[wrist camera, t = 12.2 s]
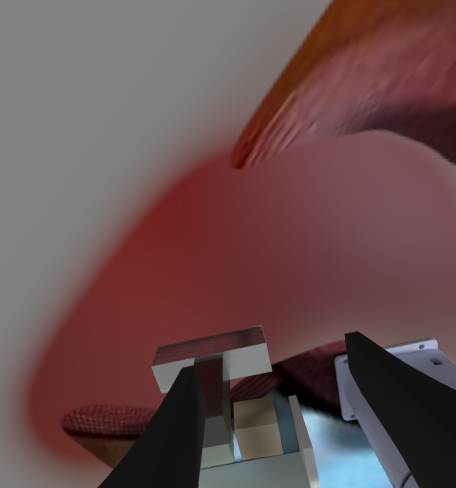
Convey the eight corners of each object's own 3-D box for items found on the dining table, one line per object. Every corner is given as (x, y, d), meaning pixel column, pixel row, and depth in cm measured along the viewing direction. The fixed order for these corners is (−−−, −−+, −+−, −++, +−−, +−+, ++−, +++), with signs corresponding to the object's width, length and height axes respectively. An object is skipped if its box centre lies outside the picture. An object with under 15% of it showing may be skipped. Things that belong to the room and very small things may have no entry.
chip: (271, 394, 26) (277, 423, 23) (277, 423, 27) (283, 453, 24) (233, 401, 26) (234, 429, 23) (240, 429, 27) (242, 460, 24)
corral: (295, 395, 26) (312, 447, 21) (308, 455, 28) (325, 513, 23) (167, 420, 26) (155, 476, 22) (190, 476, 29) (183, 537, 24)
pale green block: (223, 403, 26) (223, 432, 23) (233, 430, 27) (234, 461, 24) (186, 411, 26) (182, 441, 24) (197, 438, 28) (194, 469, 25)
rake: (261, 325, 24) (279, 401, 16) (267, 351, 24) (287, 435, 17) (158, 346, 24) (127, 430, 16) (167, 371, 25) (142, 462, 17)
